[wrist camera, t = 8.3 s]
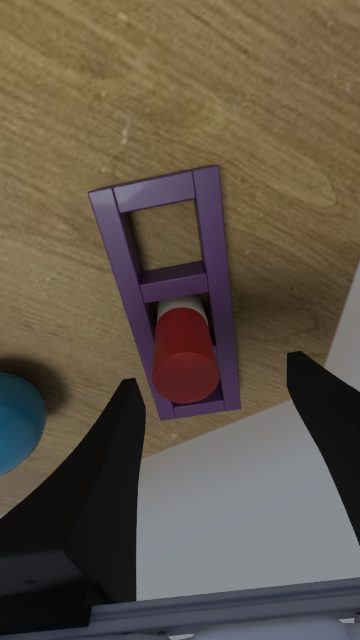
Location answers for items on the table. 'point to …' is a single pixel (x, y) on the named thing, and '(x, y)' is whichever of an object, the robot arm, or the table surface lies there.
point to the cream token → (181, 305)
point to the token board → (173, 274)
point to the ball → (19, 420)
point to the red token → (183, 357)
